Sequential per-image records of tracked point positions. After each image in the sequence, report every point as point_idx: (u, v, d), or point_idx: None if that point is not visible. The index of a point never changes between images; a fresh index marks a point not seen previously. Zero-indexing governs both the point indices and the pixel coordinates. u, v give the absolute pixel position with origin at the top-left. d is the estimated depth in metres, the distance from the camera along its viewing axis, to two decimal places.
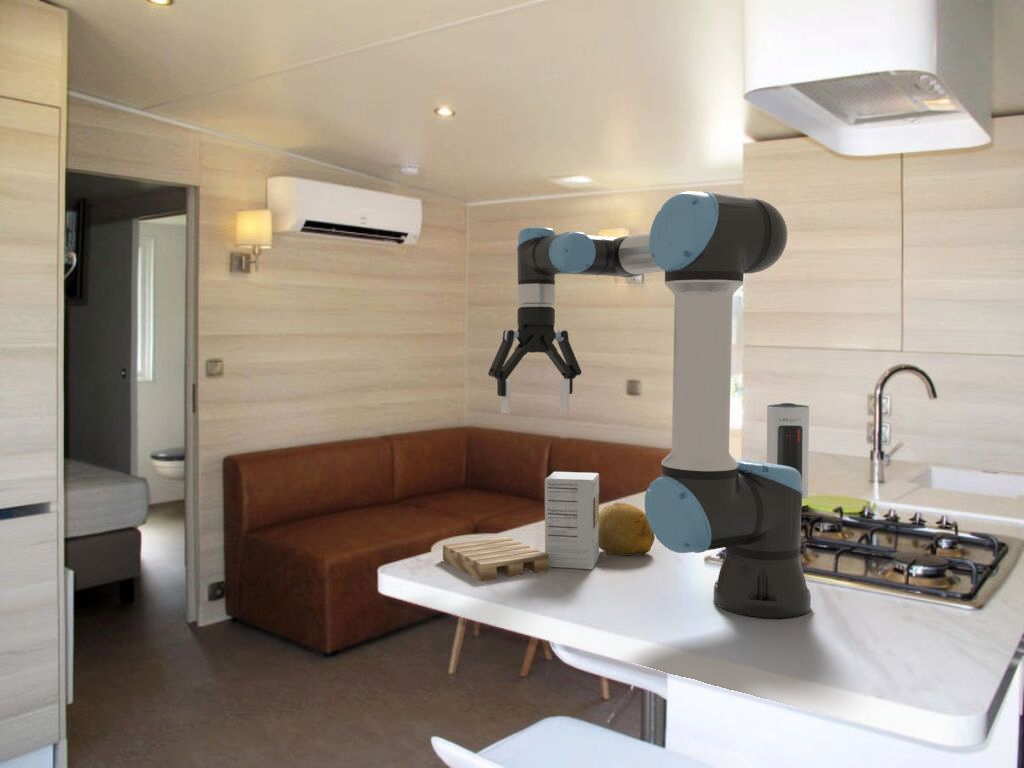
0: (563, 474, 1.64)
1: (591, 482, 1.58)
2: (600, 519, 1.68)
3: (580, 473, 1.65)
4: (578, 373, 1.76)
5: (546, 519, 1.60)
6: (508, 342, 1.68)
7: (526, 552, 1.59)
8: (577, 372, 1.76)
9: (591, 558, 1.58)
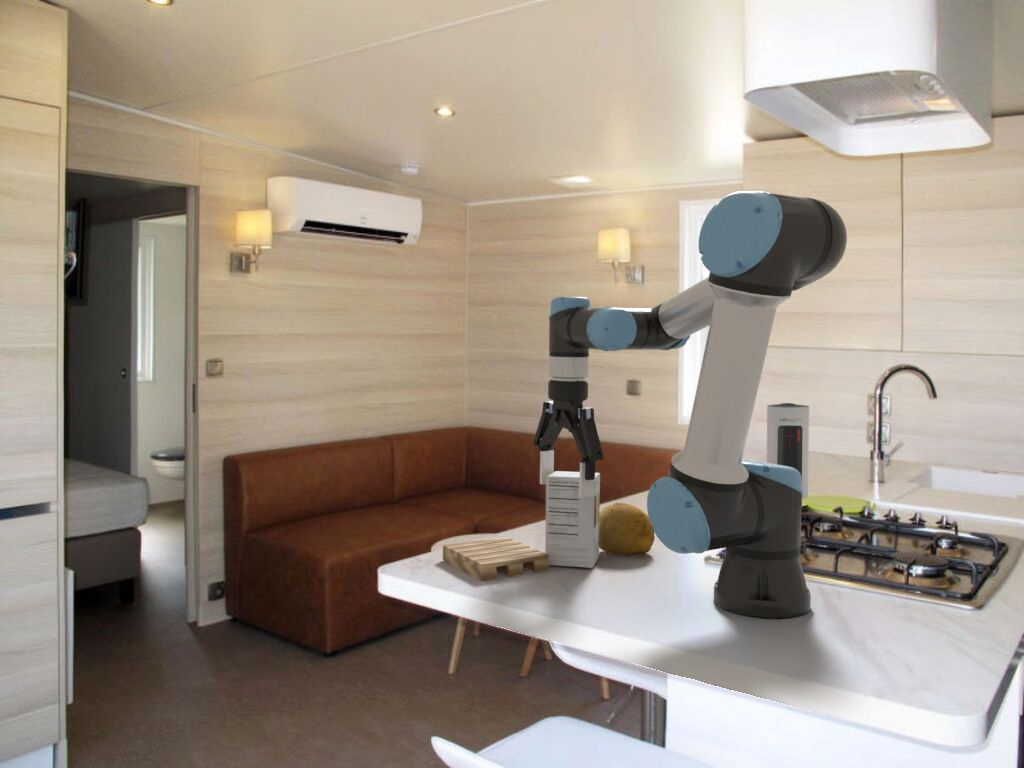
0: (564, 473, 1.64)
1: None
2: (600, 519, 1.68)
3: None
4: (590, 458, 1.53)
5: (547, 517, 1.60)
6: (542, 413, 1.67)
7: (526, 552, 1.59)
8: (589, 457, 1.54)
9: (591, 556, 1.58)
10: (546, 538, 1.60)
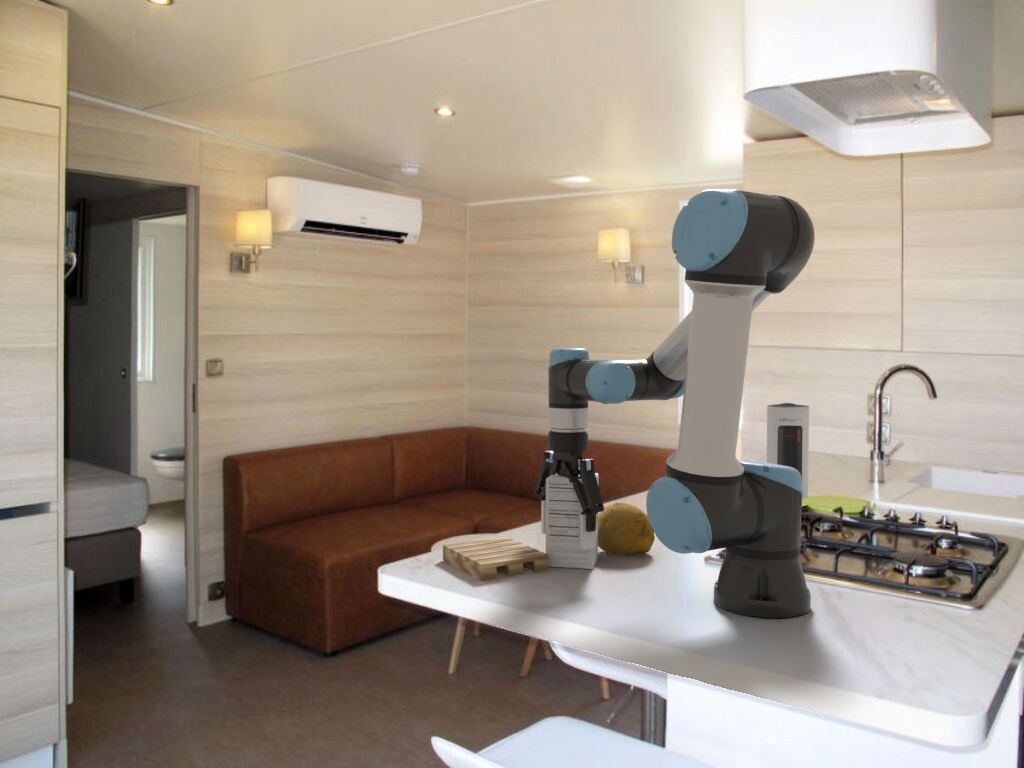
0: None
1: None
2: (600, 519, 1.68)
3: None
4: (590, 510, 1.54)
5: (547, 519, 1.60)
6: (543, 463, 1.68)
7: (526, 552, 1.59)
8: (589, 509, 1.54)
9: (592, 558, 1.59)
10: (546, 540, 1.60)
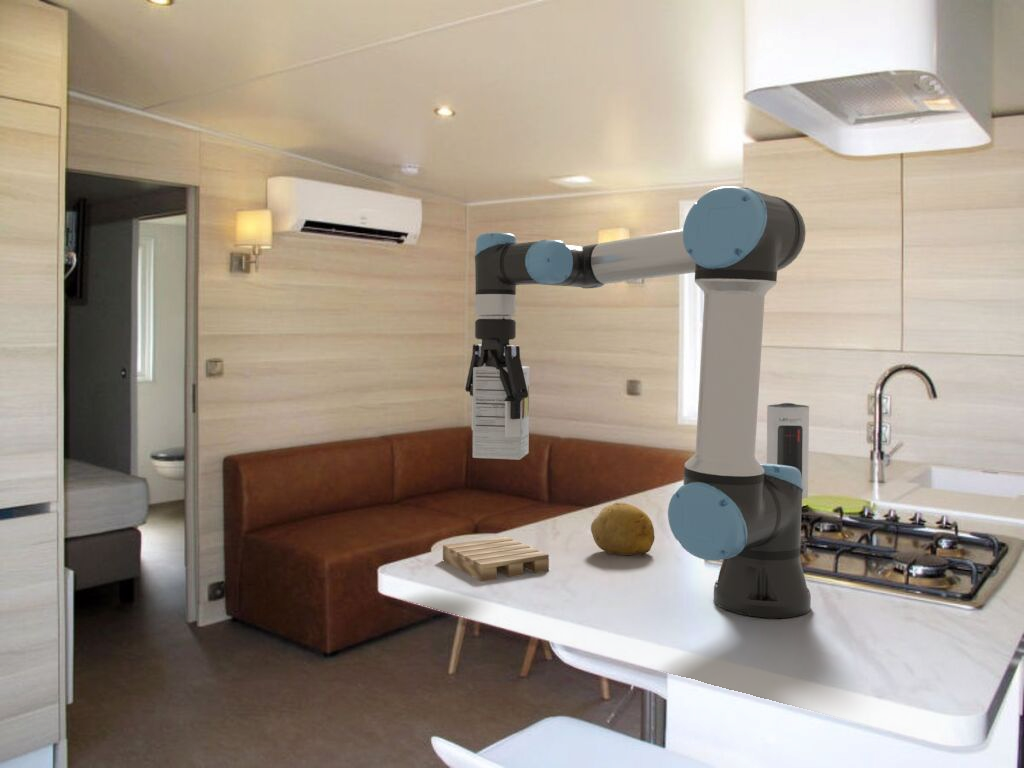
0: None
1: None
2: (600, 519, 1.68)
3: None
4: (514, 396, 1.51)
5: (474, 409, 1.56)
6: (472, 357, 1.64)
7: (526, 552, 1.59)
8: (513, 394, 1.51)
9: (519, 448, 1.55)
10: (473, 431, 1.57)
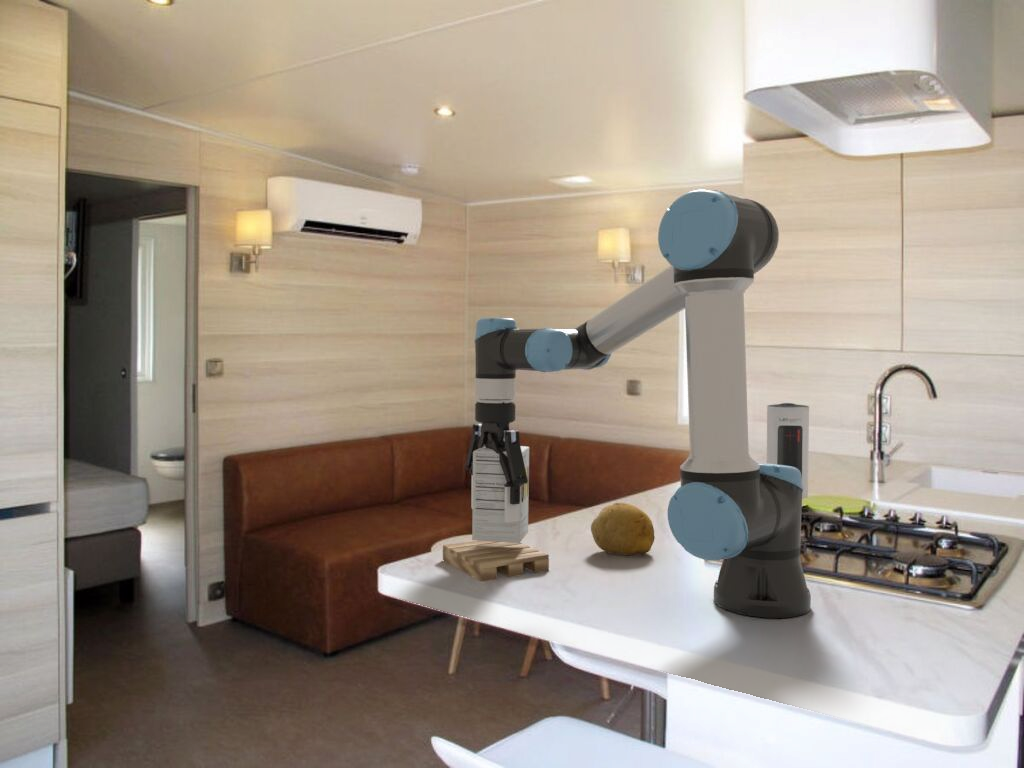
0: None
1: None
2: (600, 519, 1.68)
3: None
4: (513, 482, 1.52)
5: (474, 492, 1.57)
6: (472, 436, 1.65)
7: (526, 552, 1.59)
8: (513, 481, 1.52)
9: (518, 532, 1.56)
10: (473, 513, 1.58)
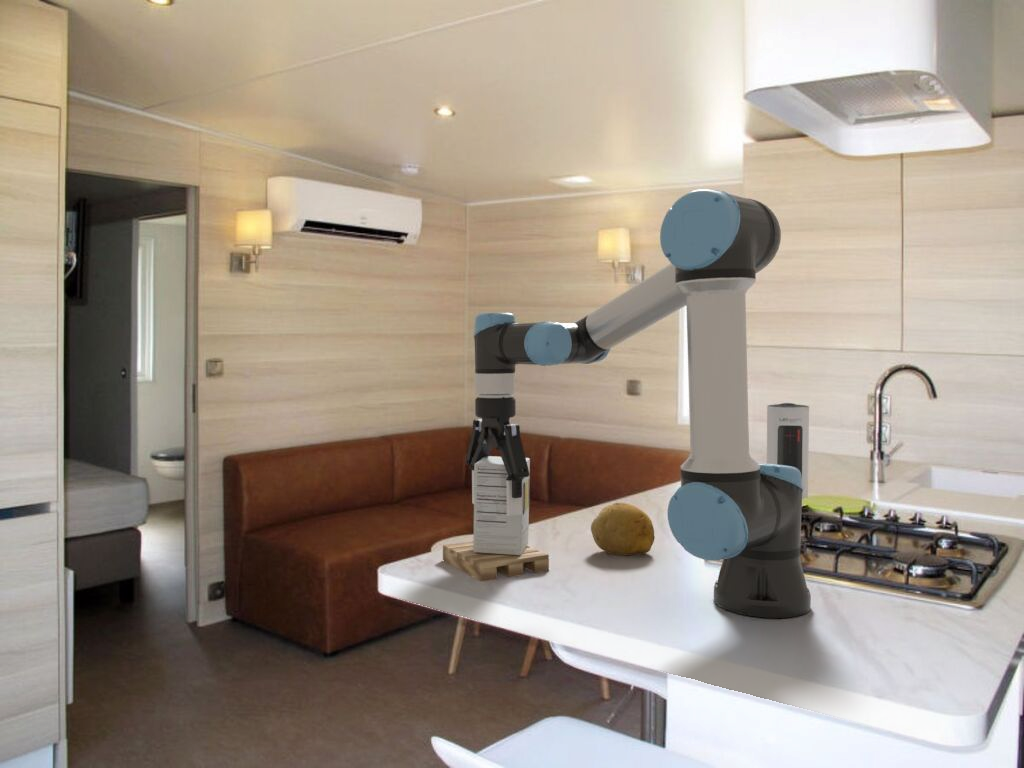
0: (493, 459, 1.61)
1: None
2: (600, 519, 1.68)
3: None
4: (515, 476, 1.51)
5: (475, 504, 1.57)
6: (473, 431, 1.65)
7: (526, 552, 1.59)
8: (514, 474, 1.51)
9: (520, 544, 1.56)
10: (474, 526, 1.58)
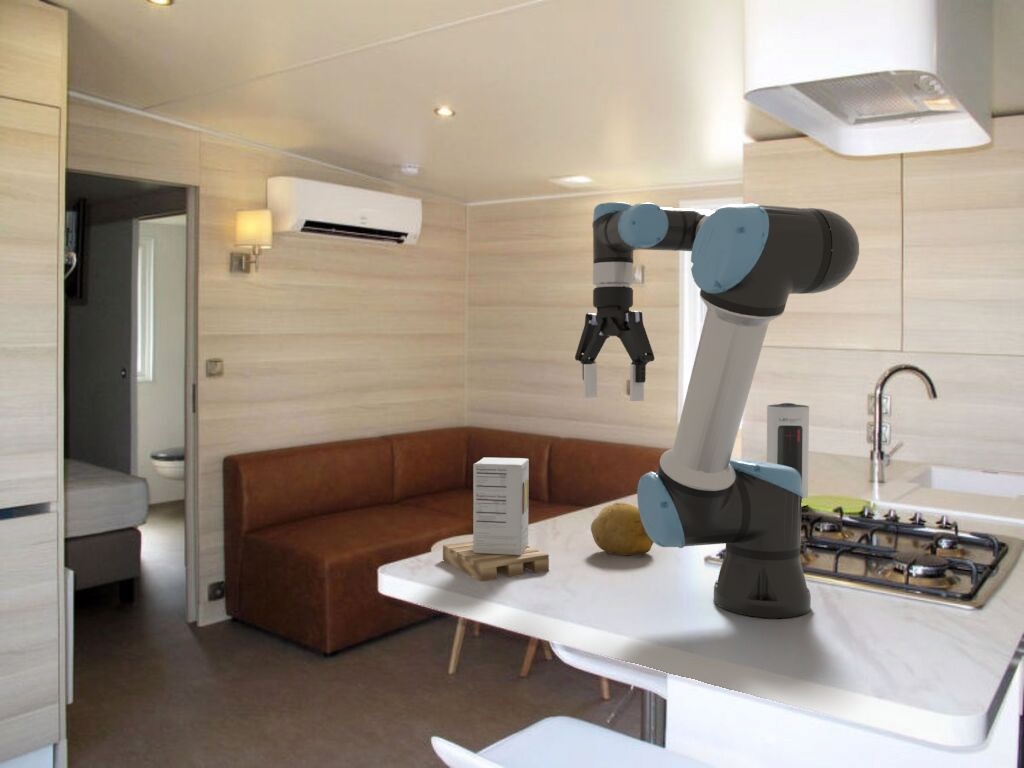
0: (492, 459, 1.62)
1: (520, 467, 1.56)
2: (600, 519, 1.68)
3: None
4: (641, 359, 1.53)
5: (474, 505, 1.57)
6: (585, 326, 1.67)
7: (526, 552, 1.59)
8: (640, 358, 1.54)
9: (520, 544, 1.56)
10: (474, 526, 1.58)
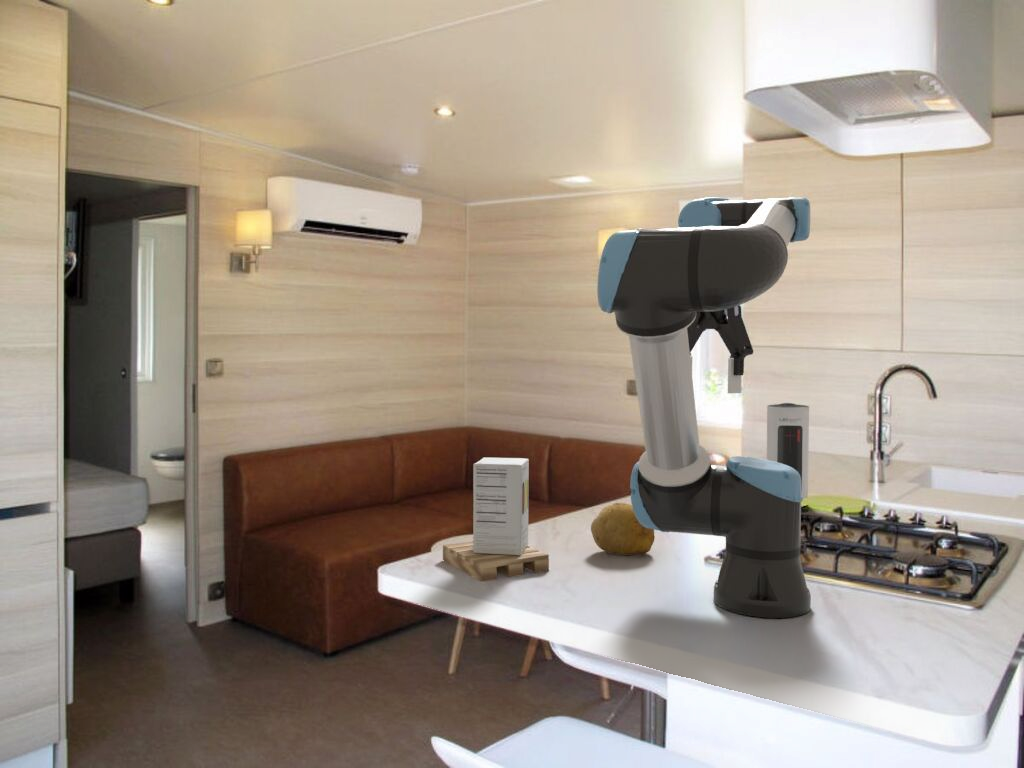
0: (492, 459, 1.62)
1: (520, 467, 1.56)
2: (600, 519, 1.68)
3: None
4: (740, 352, 1.56)
5: (474, 505, 1.57)
6: None
7: (526, 552, 1.59)
8: (739, 351, 1.57)
9: (520, 544, 1.56)
10: (474, 526, 1.58)
